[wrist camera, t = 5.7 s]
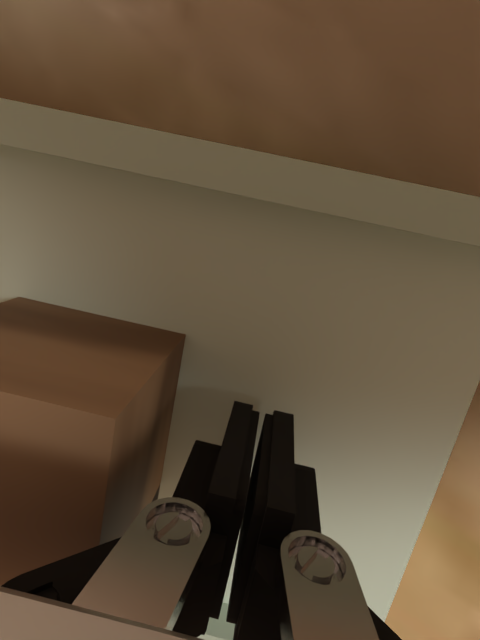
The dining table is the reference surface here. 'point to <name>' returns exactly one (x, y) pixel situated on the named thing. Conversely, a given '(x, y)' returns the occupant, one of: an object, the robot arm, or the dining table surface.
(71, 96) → the dining table surface
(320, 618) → the robot arm
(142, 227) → the trap board
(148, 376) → the walnut block
